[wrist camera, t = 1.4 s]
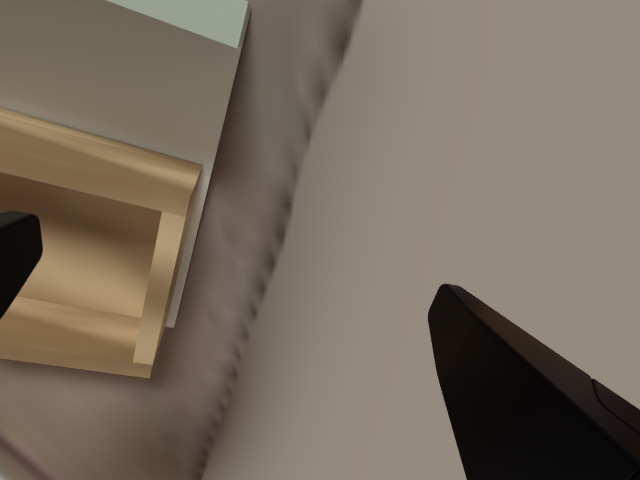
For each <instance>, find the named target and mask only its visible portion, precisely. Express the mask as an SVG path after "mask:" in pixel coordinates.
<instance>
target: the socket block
mask: <svg viewBox="0 0 640 480" xmlns="http://www.w3.org/2000/svg"><path fill="white" fill-rule="evenodd" d="M202 167H203V165H202V164H199V163H195V162H192V161H188V160H185V159H181V158H177V157H174V156H170V155H167V154H163V153H160V152H156V151H153V150H149V149H146V148H142V147H139V146H135V145H132V144H128V143H124V142H121V141H117V140H114V139H110V138H107V137H103V136H100V135H96V134H93V133H89V132H86V131H82V130H78V129H75V128H71V127H68V126H64V125H61V124H57V123H54V122H50V121H47V120H43V119H40V118H36V117H33V116H29V115H25V114H22V113H18V112H15V111H11V110H8V109H4V108H1V107H0V213H2V212H7V211H13V210H17V211H23V212H29V213H33V214H36V215H37V216H38V218H39V220H40V226H41V234H42V243H43V253H42V257H41V259H40V261H39V262H38V264H37V265H36V267H35V269H34V270H33V272H32V273H31V275H30V276H29V278H28V279H27V281H26V282H25V284H24V286H23V287H22V289H21V290H20V292H19V293H18V295H17V296H16V298H15V299H14V301H13V303H12V304H11V306H10V307H9V309H8V310H7V311H6V313H5V314H4V316H3V317H2V318H1V320H0V358H1V359H9V360H16V361H23V362H31V363H38V364H46V365H53V366H61V367H68V368H76V369H83V370H90V371H98V372H105V373H113V374H120V375H128V376H135V377H143V378H150V376H151V372H152V369H153V366H154V363H155V359H156V356H157V353H158V350H159V346H160V343H161V340H162V337H163V333H164V330H165V327H166V323H167V319H168V315H169V310H170V306H171V302H172V297H173V293H174V289H175V284H176V280H177V276H178V271H179V267H180V262H181V258H182V254H183V249H184V245H185V241H186V236H187V232H188V228H189V223H190V219H191V215H192V210H193V206H194V202H195V197H196V193H197V189H198V184H199V180H200V176H201V171H202Z"/></svg>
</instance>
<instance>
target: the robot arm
mask: <svg viewBox="0 0 640 480" xmlns="http://www.w3.org/2000/svg"><path fill="white" fill-rule="evenodd" d="M42 253H43V243H42V234H41V226H40V220H39V218H38V216H37V215H36V214H33V213H29V212H23V211H17V210H13V211H7V212H2V213H0V320H1V318H2V317H3V316H4V314H5V313H6V311H7V310H8V309H9V307H10V306H11V304H12V303H13V301H14V299H15V298H16V296H17V295H18V293H19V292H20V290H21V289H22V287H23V286H24V284H25V282H26V281H27V279H28V278H29V276H30V275H31V273H32V272H33V270H34V269H35V267H36V265H37V264H38V262H39V261H40V259H41V257H42ZM428 323H429V329H430V334H431V341H432V347H433V353H434V359H435V364H436V370H437V375H438V379H439V383H440V387H441V390H442V393H443V397H444V401H445V404H446V407H447V411H448V415H449V418H450V422H451V425H452V429H453V432H454V436H455V439H456V443H457V446H458V450H459V453H460V457H461V460H462V464H463V467H464V471H465V475H466V478H467V480H640V410H639V409H638V408H636V407H635V406H633V405H632V404H630V403H629V402H628V401H626V400H625V399H623V398H622V397H620V396H619V395H617V394H616V393H614V392H613V391H611V390H610V389H608V388H607V387H605V386H604V385H602V384H601V383H599V382H598V381H597V380H595V379H591V377H590V376H589V375H588V374H586V373H585V372H584V371H582V370H581V369H579V368H577V367H576V366H575V365H573V364H572V363H570V362H569V361H567V360H566V359H565V358H563V357H562V356H560V355H559V354H557V353H556V352H555V351H553V350H552V349H550V348H549V347H547V346H546V345H544V344H543V343H541V342H540V341H538V340H537V339H536V338H534V337H533V336H531V335H530V334H528V333H527V332H526V331H524V330H523V329H521V328H520V327H518V326H517V325H515V324H514V323H512V322H511V321H510V320H508V319H507V318H505V317H504V316H502V315H500V314H499V313H498V312H497V311H495V310H494V309H492V308H491V307H489V306H488V305H486V304H485V303H483V302H482V301H481V300H479V299H478V298H476V297H475V296H473V295H472V294H470V293H469V292H467V291H466V290H465V289H463V288H462V287H460V286H457V285H451V284H442V285H441V286H440V287H439V289H438V291H437V293H436V296H435V298H434V300H433V303H432V305H431V307H430V309H429V313H428Z"/></svg>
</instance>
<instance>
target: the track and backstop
mask: <svg viewBox="0 0 640 480" xmlns="http://www.w3.org/2000/svg"><path fill="white" fill-rule="evenodd" d="M250 12H251V6H250V4H249V2H248V1H246V0H0V107H1V108H4V109H8V110H11V111H15V112H18V113H22V114H25V115H29V116H33V117H36V118H40V119H43V120H47V121H50V122H54V123H57V124H61V125H64V126H68V127H71V128H75V129H78V130H82V131H86V132H89V133H93V134H96V135H100V136H103V137H107V138H110V139H114V140H117V141H121V142H124V143H128V144H132V145H135V146H139V147H142V148H146V149H149V150H153V151H156V152H160V153H163V154H167V155H170V156H174V157H177V158H181V159H185V160H188V161H192V162H195V163H199V164H202V165H203V167H202V171H201V176H200V180H199V184H198V189H197V193H196V197H195V202H194V206H193V210H192V215H191V219H190V223H189V228H188V232H187V236H186V241H185V245H184V249H183V254H182V258H181V262H180V267H179V271H178V276H177V280H176V284H175V289H174V293H173V297H172V302H171V306H170V310H169V315H168V319H167V323H166V327H171V328H174V326H175V322H176V318H177V314H178V310H179V306H180V302H181V297H182V293H183V289H184V285H185V281H186V277H187V273H188V268H189V264H190V260H191V256H192V252H193V248H194V244H195V240H196V235H197V231H198V227H199V223H200V219H201V215H202V211H203V206H204V202H205V198H206V194H207V190H208V186H209V182H210V177H211V173H212V169H213V165H214V161H215V157H216V153H217V148H218V144H219V140H220V136H221V132H222V128H223V124H224V120H225V115H226V111H227V107H228V103H229V99H230V95H231V91H232V86H233V82H234V78H235V74H236V70H237V66H238V62H239V57H240V53H241V49H242V45H243V41H244V37H245V33H246V28H247V24H248V20H249V16H250Z"/></svg>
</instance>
